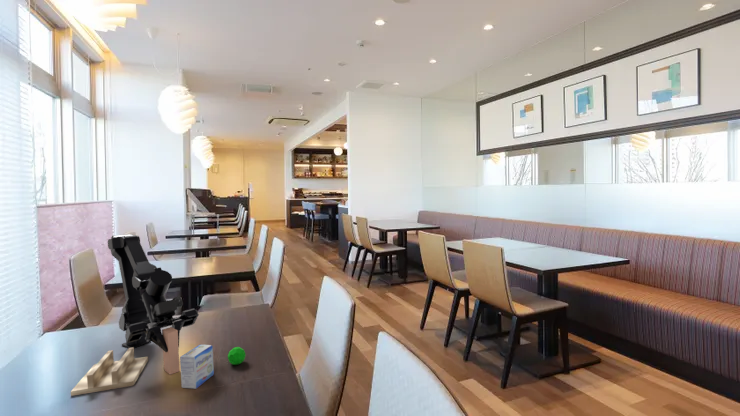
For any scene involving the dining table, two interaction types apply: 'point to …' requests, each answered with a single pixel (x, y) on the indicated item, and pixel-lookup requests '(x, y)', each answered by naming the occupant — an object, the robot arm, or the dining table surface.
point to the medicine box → (196, 366)
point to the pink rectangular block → (171, 350)
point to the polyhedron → (236, 356)
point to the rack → (111, 373)
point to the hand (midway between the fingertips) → (172, 349)
